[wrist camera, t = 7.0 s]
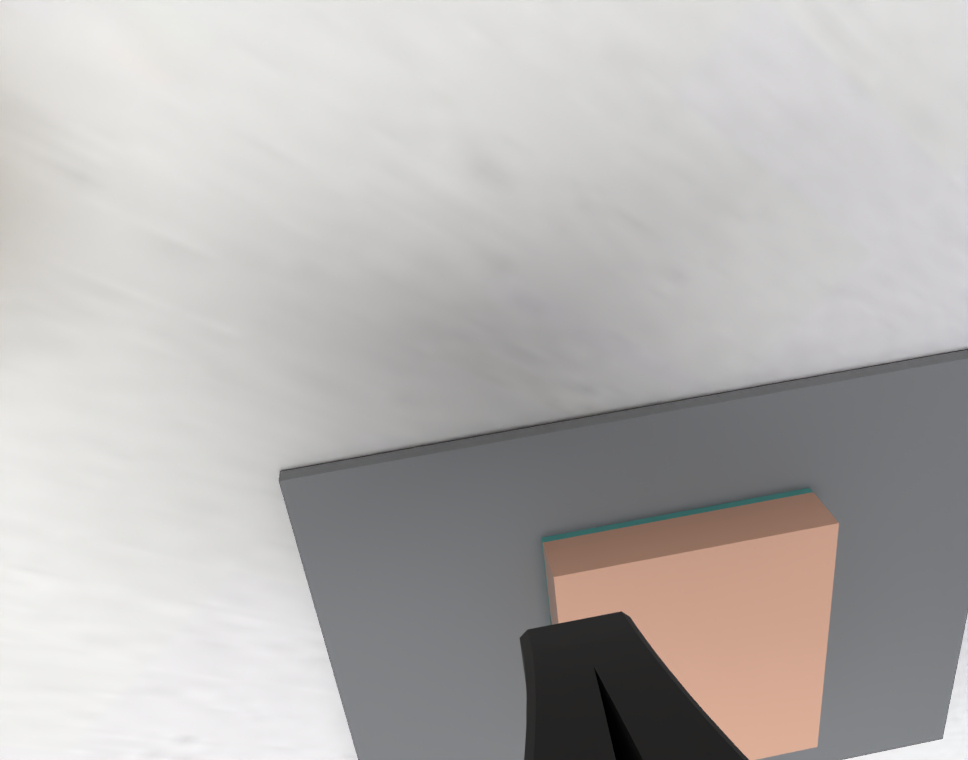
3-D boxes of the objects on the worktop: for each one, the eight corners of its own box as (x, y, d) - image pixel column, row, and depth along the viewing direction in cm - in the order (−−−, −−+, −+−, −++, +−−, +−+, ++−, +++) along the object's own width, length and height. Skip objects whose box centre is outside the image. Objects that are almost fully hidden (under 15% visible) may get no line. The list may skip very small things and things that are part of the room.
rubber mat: (1008, 342, 21) (1019, 349, 21) (935, 728, 28) (942, 738, 27) (279, 471, 20) (278, 481, 19) (385, 843, 26) (385, 855, 26)
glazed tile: (540, 537, 21) (809, 487, 22) (564, 751, 25) (793, 705, 26) (553, 577, 20) (838, 522, 20) (576, 797, 24) (817, 746, 24)
